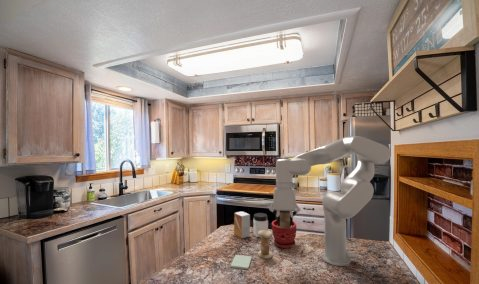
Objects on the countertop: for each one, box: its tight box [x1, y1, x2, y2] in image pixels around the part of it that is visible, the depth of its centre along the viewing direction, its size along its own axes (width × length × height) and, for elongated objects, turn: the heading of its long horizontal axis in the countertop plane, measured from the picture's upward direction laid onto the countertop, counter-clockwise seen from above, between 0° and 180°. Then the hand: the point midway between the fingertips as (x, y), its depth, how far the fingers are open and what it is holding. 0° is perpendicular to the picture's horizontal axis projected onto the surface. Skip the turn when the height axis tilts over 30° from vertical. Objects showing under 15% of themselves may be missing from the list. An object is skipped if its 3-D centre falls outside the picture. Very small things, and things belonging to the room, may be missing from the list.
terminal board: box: [230, 254, 253, 270], centre depth 101 cm, size 8×10×1 cm
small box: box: [233, 211, 251, 239], centre depth 133 cm, size 8×6×13 cm
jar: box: [252, 212, 269, 238], centre depth 134 cm, size 9×8×12 cm
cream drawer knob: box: [257, 229, 273, 260], centre depth 108 cm, size 7×7×11 cm
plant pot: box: [271, 219, 297, 249], centre depth 120 cm, size 13×13×12 cm
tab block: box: [279, 211, 290, 229], centre depth 102 cm, size 4×4×8 cm
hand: (284, 224), depth 102 cm, fingers closed on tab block, 4 cm apart
